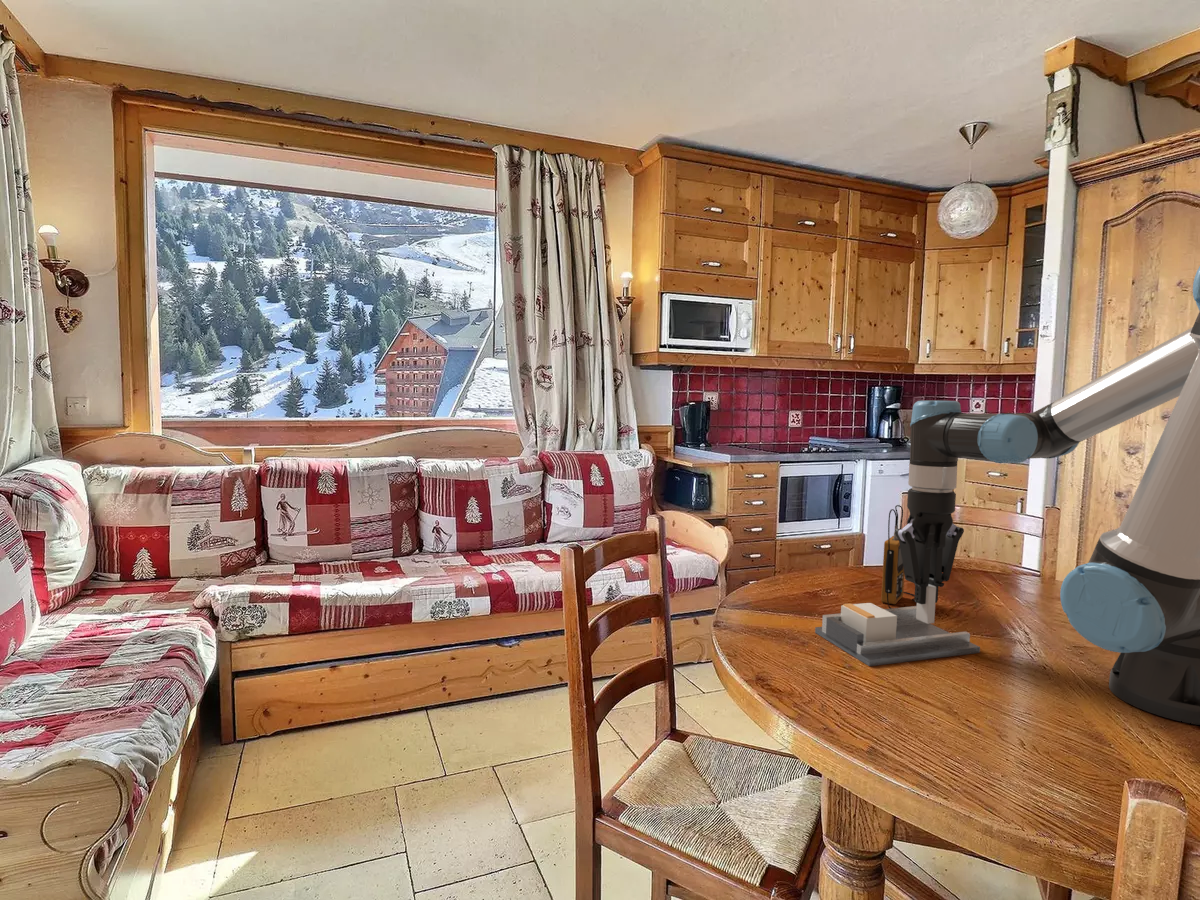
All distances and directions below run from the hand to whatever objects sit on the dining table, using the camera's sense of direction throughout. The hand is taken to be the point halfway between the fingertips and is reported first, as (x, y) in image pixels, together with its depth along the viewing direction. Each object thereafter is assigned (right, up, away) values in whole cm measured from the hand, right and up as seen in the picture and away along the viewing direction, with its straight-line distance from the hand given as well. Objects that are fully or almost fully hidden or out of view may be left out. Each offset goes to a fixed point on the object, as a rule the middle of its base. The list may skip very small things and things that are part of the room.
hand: (925, 620), depth 118 cm
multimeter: (+7, -2, +20) cm, 21 cm away
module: (-11, -3, -2) cm, 12 cm away
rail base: (-6, -4, -1) cm, 7 cm away
